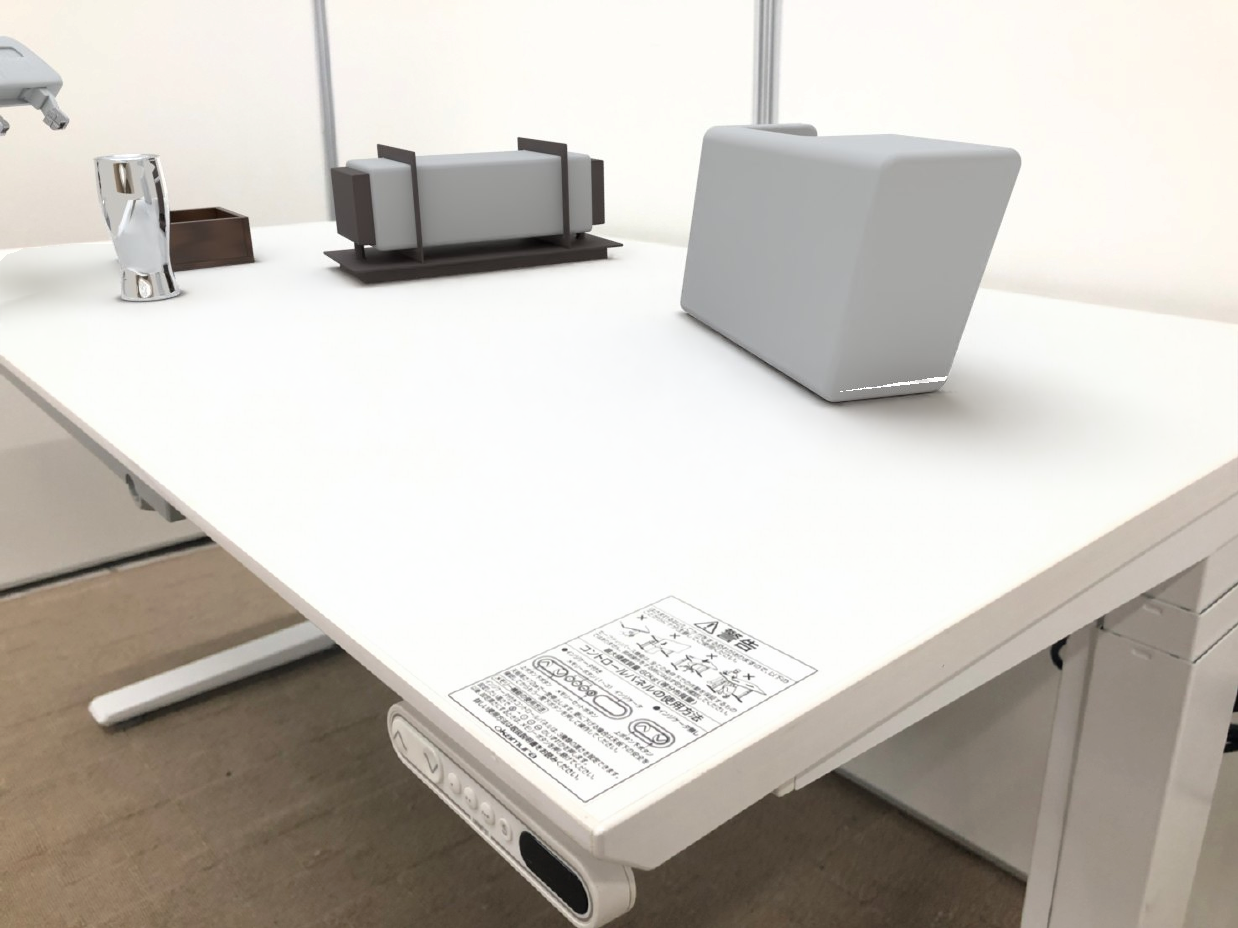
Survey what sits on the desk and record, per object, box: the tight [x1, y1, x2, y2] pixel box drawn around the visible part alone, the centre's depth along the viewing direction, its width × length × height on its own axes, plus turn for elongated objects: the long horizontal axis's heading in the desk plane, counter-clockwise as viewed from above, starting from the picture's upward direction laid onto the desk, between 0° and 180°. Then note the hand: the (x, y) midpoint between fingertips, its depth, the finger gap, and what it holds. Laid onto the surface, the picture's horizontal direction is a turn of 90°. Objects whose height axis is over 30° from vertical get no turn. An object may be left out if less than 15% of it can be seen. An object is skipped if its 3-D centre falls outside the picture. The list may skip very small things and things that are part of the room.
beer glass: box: [93, 153, 181, 302], centre depth 115 cm, size 7×7×15 cm
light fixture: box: [322, 136, 624, 285], centre depth 132 cm, size 15×15×35 cm
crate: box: [170, 206, 256, 272], centre depth 138 cm, size 14×14×6 cm
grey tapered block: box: [679, 122, 1022, 403], centre depth 87 cm, size 30×10×30 cm, turn 16°
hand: (33, 129), depth 114 cm, fingers open, 8 cm apart
